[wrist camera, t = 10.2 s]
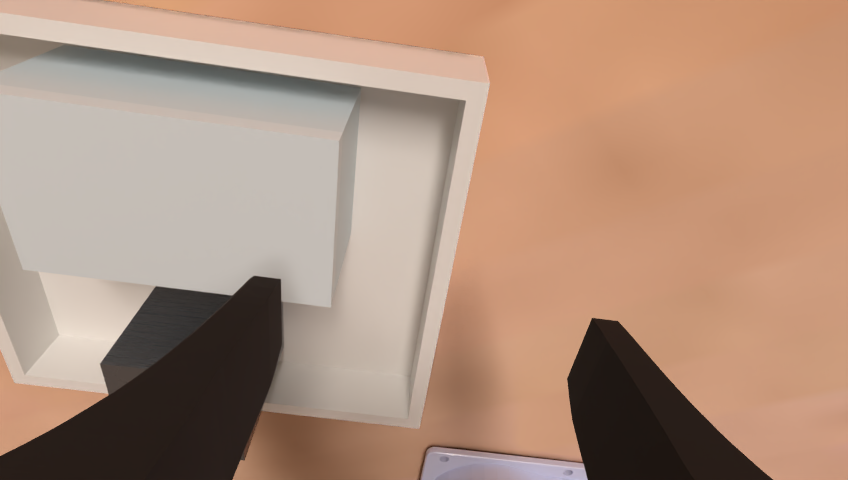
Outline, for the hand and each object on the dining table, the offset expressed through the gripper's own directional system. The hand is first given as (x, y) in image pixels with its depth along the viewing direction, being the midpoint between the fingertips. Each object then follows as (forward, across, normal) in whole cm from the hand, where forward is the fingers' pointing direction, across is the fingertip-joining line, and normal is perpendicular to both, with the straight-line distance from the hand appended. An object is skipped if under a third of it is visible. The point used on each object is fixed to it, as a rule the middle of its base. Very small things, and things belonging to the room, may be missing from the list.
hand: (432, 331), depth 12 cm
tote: (+9, +8, +4) cm, 13 cm away
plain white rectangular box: (+9, +8, 0) cm, 12 cm away
